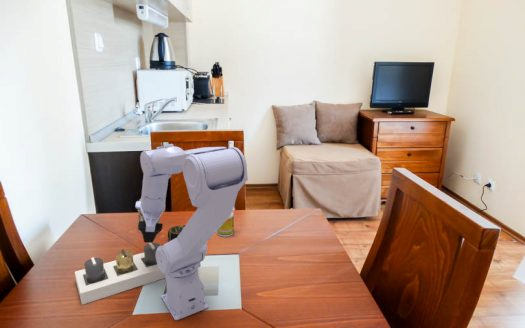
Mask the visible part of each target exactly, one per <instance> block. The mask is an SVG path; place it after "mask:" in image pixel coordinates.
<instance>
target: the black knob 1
mask: <svg viewBox="0 0 525 328" xmlns="http://www.w3.org/2000/svg"><path fill="white" fill-rule="evenodd" d="M103 264H104V260H103V259H102V258H100V257H94V256H93V257H91V258H90V259H87V260H86V261H85V262H84V269H85V272H86V279H87V282H88V283H90V284H93V283H96V282H100V281H103V279H104V278H105V274H104V266H103ZM104 280H105V279H104ZM90 284H89V285H90Z"/></svg>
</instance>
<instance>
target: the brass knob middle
mask: <svg viewBox="0 0 525 328" xmlns="http://www.w3.org/2000/svg"><path fill="white" fill-rule="evenodd" d="M114 256H115V260H116V265H117V272H118V273H119V274H120V275H123V274H126V273H130V272H133V270H134V263H133V251H132V250H130V249H124V248H123V249H121V250H120V251H118V252H116V253H115V255H114Z"/></svg>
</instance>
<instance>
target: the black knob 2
mask: <svg viewBox="0 0 525 328" xmlns="http://www.w3.org/2000/svg"><path fill="white" fill-rule="evenodd" d="M159 246H161V245H160V244H159V243H158V242H152V243H147V244H145V245H144V246H143V253H144V255H145V264H146V265H148V266H147V267H150V266H153V265H156V264H157V261H156V250H157V248H158V247H159Z"/></svg>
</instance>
